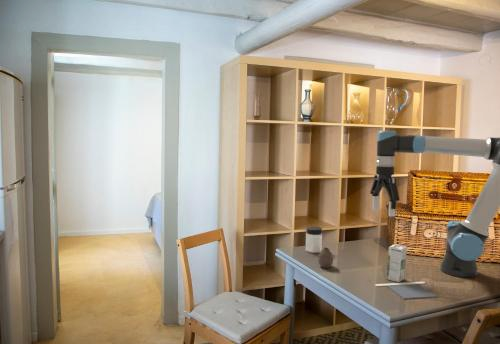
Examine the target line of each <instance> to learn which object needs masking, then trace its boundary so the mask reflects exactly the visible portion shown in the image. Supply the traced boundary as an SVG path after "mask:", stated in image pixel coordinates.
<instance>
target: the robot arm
mask: <svg viewBox="0 0 500 344" xmlns="http://www.w3.org/2000/svg"><path fill="white" fill-rule="evenodd" d="M376 141H377V142H376V144H377V145H376V148H377V149H376V159H375V160H376V167H375V171H376V172H375V173H376V174H375V175H374V177H373V182H372V186H371V189H370V191H369V194H371V196H372V211H373V212H374V211H379V210H380V209H379V207H380V192H381V191H382V189H383V188H384V189H385V190H386V193H387V195H388V197H389V200H388V217H389V218H390V217H396V208H397V202H399V201H400V196H399V191H398V186H397V185H398V184H397V178H395V177H392V176H393V175H394V174H395V164H396V159H395V158H396V153H397V154H398V153H403V154H405V153H406V154H423V153H426V154H438V155H451V156H452V155H453V156H464V157H465V156H467V157H479V158H484V159H485V160H489V161H492V162H491V164H492V166H493V169H492V170H491V172H490V174H489V176H488V178H487V180H486V182H485V183H484V185H483V187H482V190H481V191H480V193H479V195H478V197H476V200H475V201H474V204H473V205H472V207H471V209H470V211H469V213H468V215H467V216H466V219H464V220H461V221H456V220H455V221H454V220H453V221H452V220H451V221H450V220H449V221H448V222H447V226H446V241H445V242H446V243H445V253H444V255H443V258H442V261H441V262H440V266H439V267H440V268H439V269H440V271H441V272H443V273H445V274H447V275H450V276H454V277H459V278H475V277H477V276H478V275H479V274H478V273H479V270H478V267H477V262H476V260H477V259H479V258H480V257H482V255H483V253H484V250H485V243H486V242H487V239H489V236H490V234H489V232H488V230H489V227H490V225H491V223H492V222H493V220H494V219H495V216H496V214H497V212H498V211H499V209H500V137H491V136H490V137H488V138H486V139H483V138H482V139H481V138H463V137H447V136H445V137H444V136H431V135H429V136H428V135H420V134H419V135H418V134H416V135H413V134H408V135H405V134H403V135H399V134H397V132H396V131H395V130H379V131H378V133H377V140H376Z"/></svg>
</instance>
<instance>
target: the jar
mask: <svg viewBox="0 0 500 344" xmlns="http://www.w3.org/2000/svg"><path fill="white" fill-rule="evenodd" d="M322 245H323V228H322V227H321V226H316V225H315V226H307V227H306V232H305V251H306V252H308V253H312V254H315V253H320V252H321V251H322V250H323V248H322V247H323V246H322Z"/></svg>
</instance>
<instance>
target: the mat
mask: <svg viewBox="0 0 500 344" xmlns="http://www.w3.org/2000/svg"><path fill="white" fill-rule="evenodd" d="M386 287H387V288H388V289H390V290H391V291H392V292H393V293H395V294H396V295H397V296H399V297H400V298H402V300H413V299H414V300H415V299H426V298H427V299H428V298H438V296H437V295H436V294H435V293H434V292H432V291H430V290H428V289H427V288H425V287H424V286H422V284H411V285H394V286H386Z"/></svg>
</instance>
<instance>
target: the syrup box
mask: <svg viewBox="0 0 500 344" xmlns="http://www.w3.org/2000/svg"><path fill="white" fill-rule="evenodd" d="M407 249H408V247H407V246H405V245H401V244H397V243H396V244H392V245H390V246H388V254H387V265H386V266H387V267H386V280H388V281H390V282H391V281H392V282H394V283H402V281H403V280H405V277H406V264H407V263H406V262H407Z"/></svg>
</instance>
